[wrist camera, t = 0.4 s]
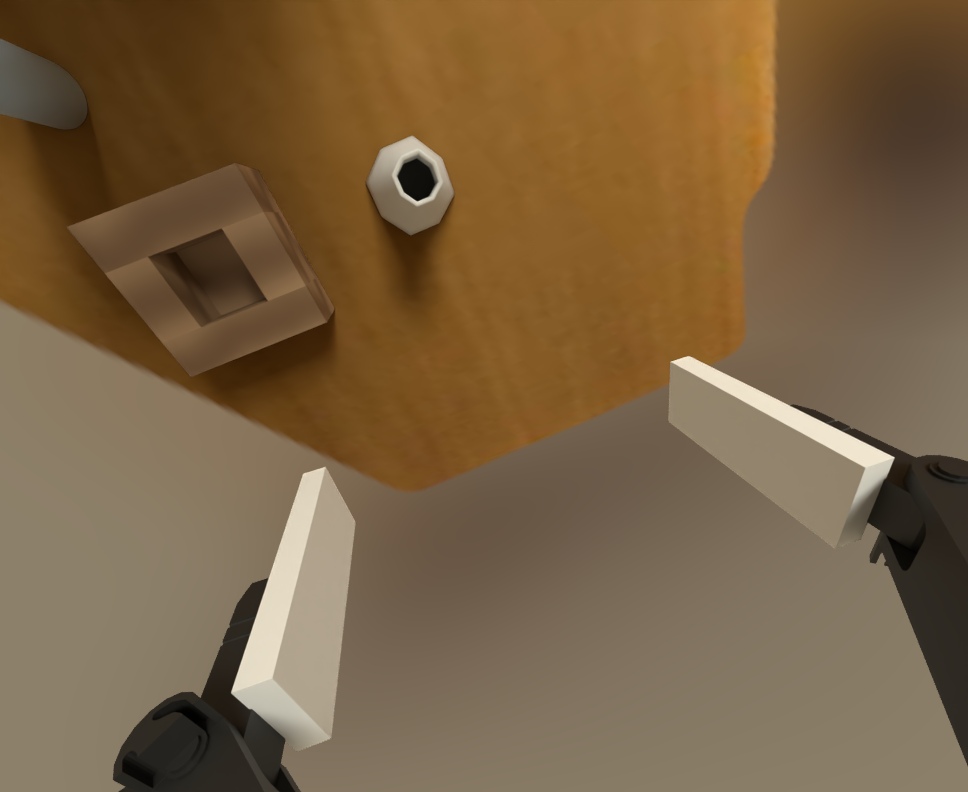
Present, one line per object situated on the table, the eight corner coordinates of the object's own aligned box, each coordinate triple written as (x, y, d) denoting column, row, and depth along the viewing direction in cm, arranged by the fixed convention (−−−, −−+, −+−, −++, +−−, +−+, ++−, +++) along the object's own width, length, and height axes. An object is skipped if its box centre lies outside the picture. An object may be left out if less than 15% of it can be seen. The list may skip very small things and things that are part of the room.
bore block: (114, 225, 29) (66, 227, 25) (258, 170, 30) (235, 162, 26) (215, 356, 35) (190, 377, 31) (334, 309, 36) (326, 322, 31)
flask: (410, 250, 35) (415, 262, 26) (349, 180, 32) (333, 167, 23) (468, 195, 34) (494, 189, 25) (412, 117, 31) (420, 79, 22)
